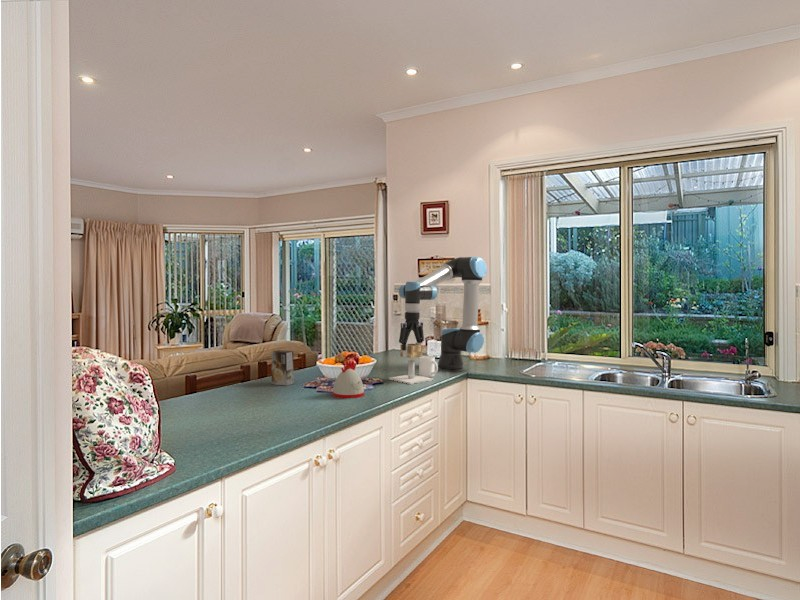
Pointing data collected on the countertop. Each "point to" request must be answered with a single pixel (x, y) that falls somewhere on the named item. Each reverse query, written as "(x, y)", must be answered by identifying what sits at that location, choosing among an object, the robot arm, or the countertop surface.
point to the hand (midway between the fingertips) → (411, 355)
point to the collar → (413, 351)
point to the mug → (427, 366)
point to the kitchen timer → (348, 383)
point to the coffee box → (282, 367)
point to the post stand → (411, 375)
